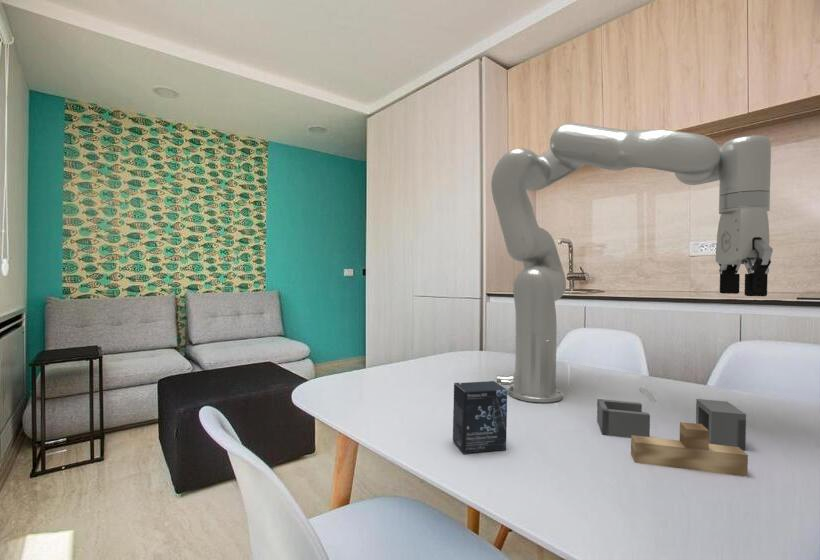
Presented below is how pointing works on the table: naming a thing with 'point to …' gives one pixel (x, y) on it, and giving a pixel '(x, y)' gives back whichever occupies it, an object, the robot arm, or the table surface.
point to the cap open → (622, 418)
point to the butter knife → (648, 394)
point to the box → (479, 416)
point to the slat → (690, 452)
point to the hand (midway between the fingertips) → (741, 294)
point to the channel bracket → (722, 422)
